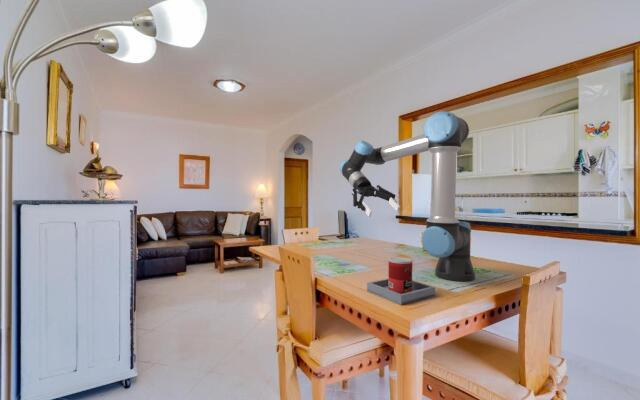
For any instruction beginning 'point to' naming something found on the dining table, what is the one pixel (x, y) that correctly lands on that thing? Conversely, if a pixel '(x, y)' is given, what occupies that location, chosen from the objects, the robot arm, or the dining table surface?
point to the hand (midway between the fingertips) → (384, 211)
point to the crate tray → (416, 294)
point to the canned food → (400, 275)
